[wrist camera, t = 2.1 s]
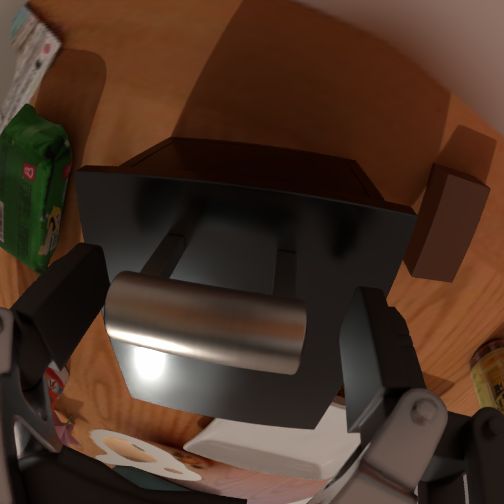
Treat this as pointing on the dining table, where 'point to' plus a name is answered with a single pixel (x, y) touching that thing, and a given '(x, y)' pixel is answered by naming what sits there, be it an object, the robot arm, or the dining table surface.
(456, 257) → the chocolate bar
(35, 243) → the snack package
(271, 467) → the square plate
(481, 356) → the sauce bottle
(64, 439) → the lily
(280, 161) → the waste bin
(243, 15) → the dining table surface
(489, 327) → the dining table surface
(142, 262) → the bin lid
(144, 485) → the casserole dish
